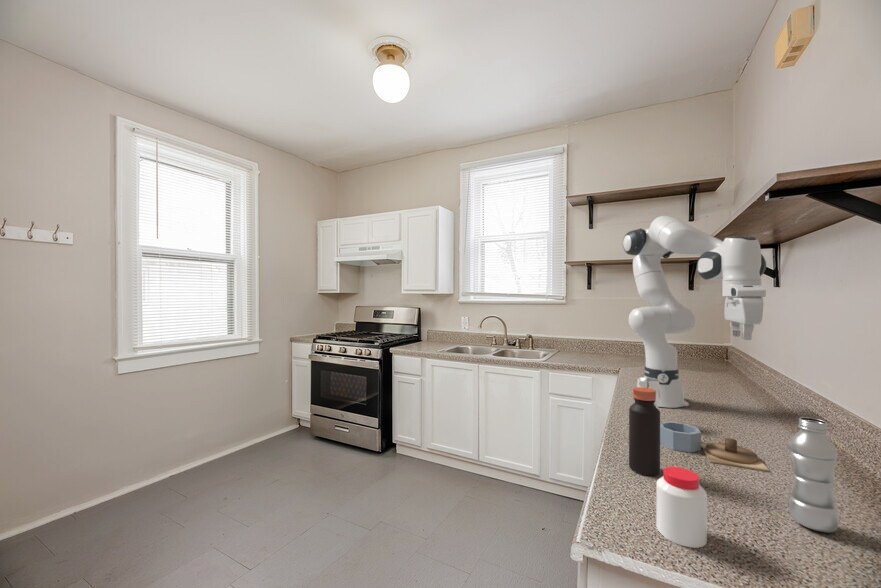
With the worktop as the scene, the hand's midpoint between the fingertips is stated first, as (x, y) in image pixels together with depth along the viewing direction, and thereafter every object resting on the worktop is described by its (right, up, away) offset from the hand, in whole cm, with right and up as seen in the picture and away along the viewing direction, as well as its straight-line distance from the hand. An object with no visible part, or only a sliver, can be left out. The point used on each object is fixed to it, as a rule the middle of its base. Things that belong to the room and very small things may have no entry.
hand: (741, 338), depth 107 cm
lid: (-9, -31, -8) cm, 33 cm away
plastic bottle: (-18, -31, -38) cm, 52 cm away
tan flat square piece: (-9, -31, -8) cm, 33 cm away
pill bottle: (-44, -31, -40) cm, 67 cm away
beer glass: (-17, -31, +18) cm, 40 cm away
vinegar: (-37, -31, -16) cm, 51 cm away
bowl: (-18, -31, 0) cm, 36 cm away
